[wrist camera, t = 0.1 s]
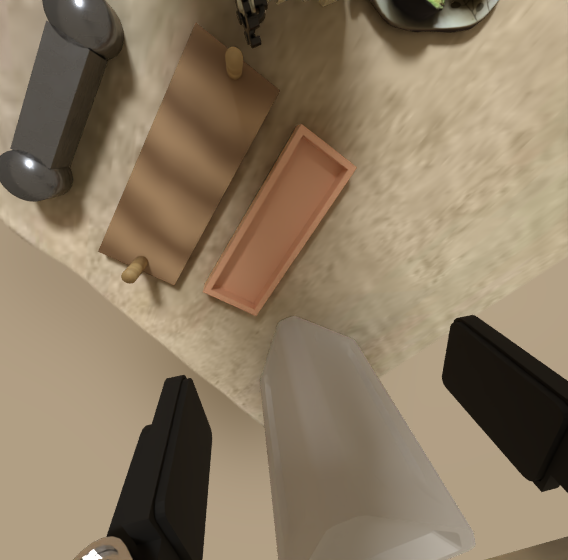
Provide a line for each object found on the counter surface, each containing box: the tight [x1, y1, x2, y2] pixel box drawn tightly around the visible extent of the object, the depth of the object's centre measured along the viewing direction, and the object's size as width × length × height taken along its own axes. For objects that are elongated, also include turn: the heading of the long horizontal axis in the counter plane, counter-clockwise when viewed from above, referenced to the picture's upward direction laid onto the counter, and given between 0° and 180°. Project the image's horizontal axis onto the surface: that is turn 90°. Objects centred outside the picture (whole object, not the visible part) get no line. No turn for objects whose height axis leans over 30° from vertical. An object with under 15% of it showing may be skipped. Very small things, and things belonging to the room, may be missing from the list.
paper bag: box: [260, 316, 475, 560], centre depth 37 cm, size 19×15×28 cm
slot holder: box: [203, 124, 357, 316], centre depth 38 cm, size 25×9×3 cm, turn 147°
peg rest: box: [98, 23, 280, 285], centre depth 32 cm, size 28×10×6 cm, turn 147°
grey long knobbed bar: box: [0, 0, 124, 202], centre depth 28 cm, size 21×5×4 cm, turn 147°
